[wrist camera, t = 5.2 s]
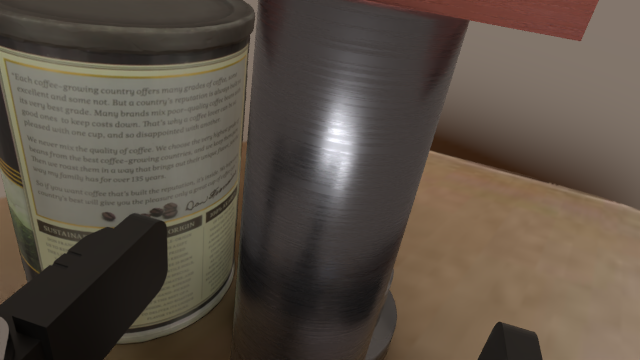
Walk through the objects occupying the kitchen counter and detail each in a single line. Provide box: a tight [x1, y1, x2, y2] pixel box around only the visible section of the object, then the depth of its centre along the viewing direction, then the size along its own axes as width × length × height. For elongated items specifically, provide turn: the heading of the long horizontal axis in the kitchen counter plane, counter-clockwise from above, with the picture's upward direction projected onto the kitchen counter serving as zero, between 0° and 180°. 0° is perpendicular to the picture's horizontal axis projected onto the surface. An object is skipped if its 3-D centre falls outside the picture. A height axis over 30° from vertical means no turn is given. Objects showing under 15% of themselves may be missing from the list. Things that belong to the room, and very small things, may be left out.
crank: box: [231, 0, 599, 360], centre depth 17 cm, size 20×6×16 cm, turn 170°
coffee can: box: [0, 0, 255, 344], centre depth 21 cm, size 10×10×14 cm
